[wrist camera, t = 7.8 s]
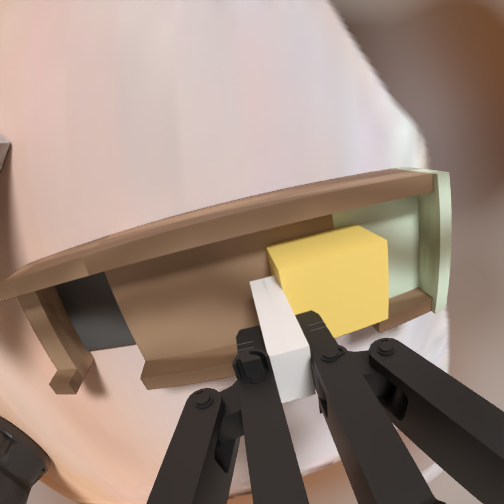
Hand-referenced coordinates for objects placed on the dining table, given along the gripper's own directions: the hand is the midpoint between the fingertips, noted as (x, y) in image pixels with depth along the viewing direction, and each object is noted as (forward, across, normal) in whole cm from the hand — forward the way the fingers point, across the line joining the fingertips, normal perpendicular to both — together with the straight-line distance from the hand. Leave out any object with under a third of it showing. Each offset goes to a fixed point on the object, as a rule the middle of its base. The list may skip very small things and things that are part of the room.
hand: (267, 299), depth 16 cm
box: (+5, +3, 0) cm, 6 cm away
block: (+2, -4, 0) cm, 4 cm away
